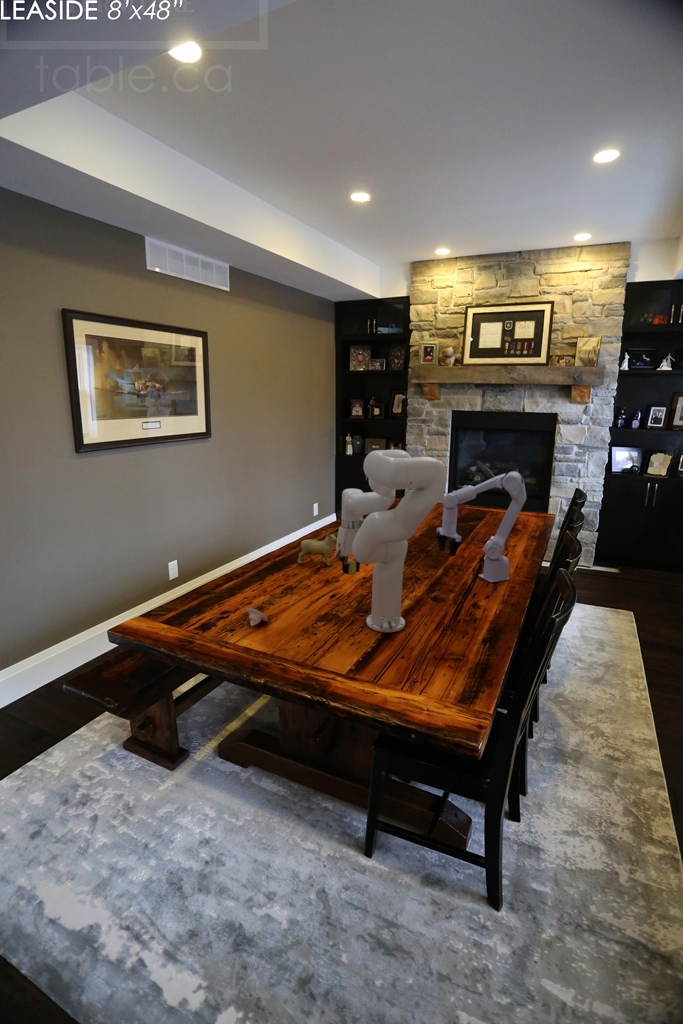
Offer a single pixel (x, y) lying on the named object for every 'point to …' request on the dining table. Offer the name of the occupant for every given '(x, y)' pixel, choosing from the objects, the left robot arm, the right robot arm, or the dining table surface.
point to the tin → (352, 567)
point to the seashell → (255, 616)
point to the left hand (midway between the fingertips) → (350, 571)
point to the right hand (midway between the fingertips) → (447, 553)
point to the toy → (318, 548)
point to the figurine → (487, 544)
